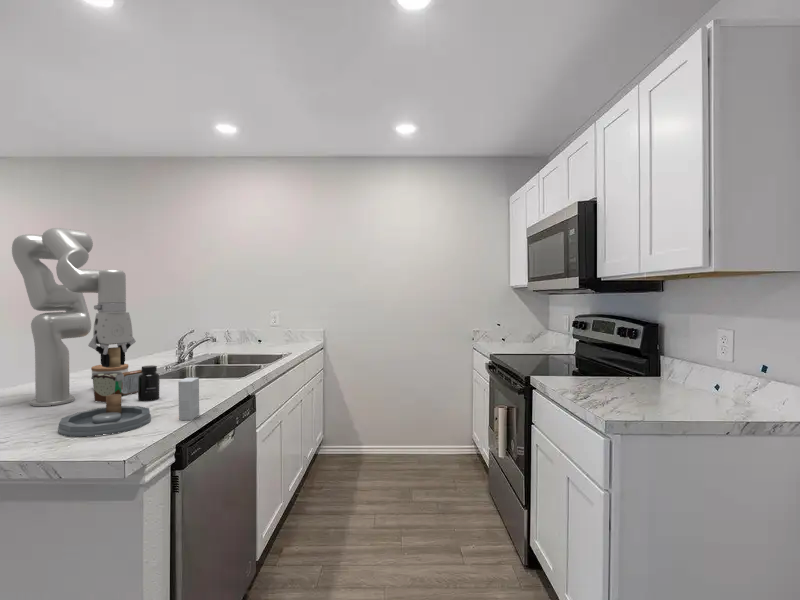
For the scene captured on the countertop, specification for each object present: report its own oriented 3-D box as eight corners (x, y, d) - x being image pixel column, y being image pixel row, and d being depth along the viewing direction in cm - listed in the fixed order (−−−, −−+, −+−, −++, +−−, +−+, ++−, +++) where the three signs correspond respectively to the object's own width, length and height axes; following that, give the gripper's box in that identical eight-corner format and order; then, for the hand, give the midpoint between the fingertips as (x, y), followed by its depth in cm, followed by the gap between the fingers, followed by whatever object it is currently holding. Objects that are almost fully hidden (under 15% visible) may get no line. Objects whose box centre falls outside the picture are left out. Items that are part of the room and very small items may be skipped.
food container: (132, 400, 163) (132, 372, 163) (117, 404, 157) (116, 375, 157) (107, 397, 167) (107, 370, 167) (91, 401, 161) (91, 373, 161)
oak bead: (104, 368, 142) (103, 349, 142) (108, 366, 146) (108, 347, 146) (118, 367, 143) (118, 348, 143) (122, 365, 147) (122, 347, 147)
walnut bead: (103, 415, 138) (103, 396, 138) (116, 412, 142) (116, 393, 142) (110, 417, 136) (110, 397, 136) (124, 414, 140) (124, 395, 140)
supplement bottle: (150, 401, 161) (150, 368, 161) (133, 400, 162) (133, 367, 162) (163, 397, 168) (163, 365, 167) (147, 396, 169) (147, 364, 169)
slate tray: (42, 428, 129) (42, 419, 129) (124, 410, 149) (124, 402, 149) (84, 442, 118) (84, 431, 118) (167, 420, 138) (167, 411, 138)
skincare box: (185, 415, 144) (185, 377, 144) (199, 414, 144) (199, 377, 144) (178, 420, 138) (177, 381, 138) (192, 420, 138) (192, 381, 138)
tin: (147, 388, 182) (147, 367, 182) (153, 389, 181) (153, 368, 181) (111, 396, 168) (111, 374, 168) (117, 397, 167) (117, 374, 167)
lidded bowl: (106, 392, 175) (106, 364, 174) (83, 390, 179) (83, 362, 179) (135, 386, 186) (135, 359, 186) (114, 384, 191) (113, 358, 191)
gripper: (90, 309, 135) (91, 370, 136) (145, 307, 150) (145, 362, 150) (77, 309, 139) (78, 368, 139) (131, 307, 154) (132, 361, 154)
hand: (113, 365), depth 145 cm, fingers closed on oak bead, 4 cm apart
